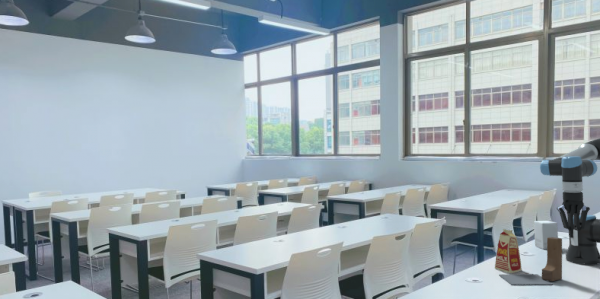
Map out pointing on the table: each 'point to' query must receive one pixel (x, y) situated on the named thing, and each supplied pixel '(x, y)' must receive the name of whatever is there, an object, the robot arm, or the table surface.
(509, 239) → the milk carton
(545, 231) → the supplement box
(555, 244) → the wooden block
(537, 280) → the mat
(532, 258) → the table surface
